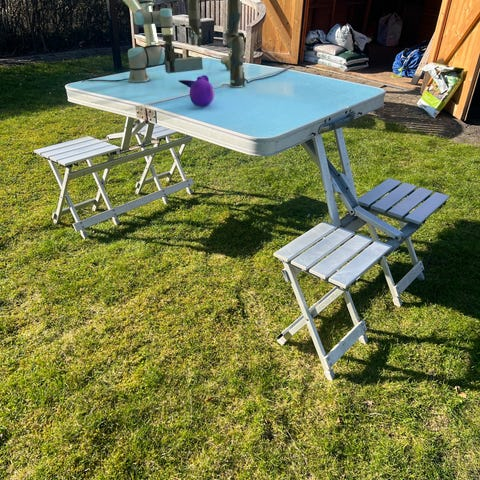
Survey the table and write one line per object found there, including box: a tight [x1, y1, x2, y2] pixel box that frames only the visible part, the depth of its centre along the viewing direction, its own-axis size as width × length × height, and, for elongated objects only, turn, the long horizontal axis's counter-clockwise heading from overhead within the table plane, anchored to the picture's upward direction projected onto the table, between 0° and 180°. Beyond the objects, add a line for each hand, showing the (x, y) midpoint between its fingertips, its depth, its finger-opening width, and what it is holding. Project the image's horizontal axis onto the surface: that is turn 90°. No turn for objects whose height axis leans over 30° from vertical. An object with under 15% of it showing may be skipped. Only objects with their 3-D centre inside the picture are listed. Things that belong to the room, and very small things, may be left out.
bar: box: [164, 55, 204, 75], centre depth 313 cm, size 26×5×8 cm, turn 119°
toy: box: [178, 74, 216, 108], centre depth 268 cm, size 16×18×27 cm
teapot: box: [220, 49, 245, 71], centre depth 370 cm, size 21×12×15 cm, turn 120°
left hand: (171, 71), depth 310 cm, fingers closed on bar, 5 cm apart
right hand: (196, 45), depth 290 cm, fingers open, 8 cm apart
